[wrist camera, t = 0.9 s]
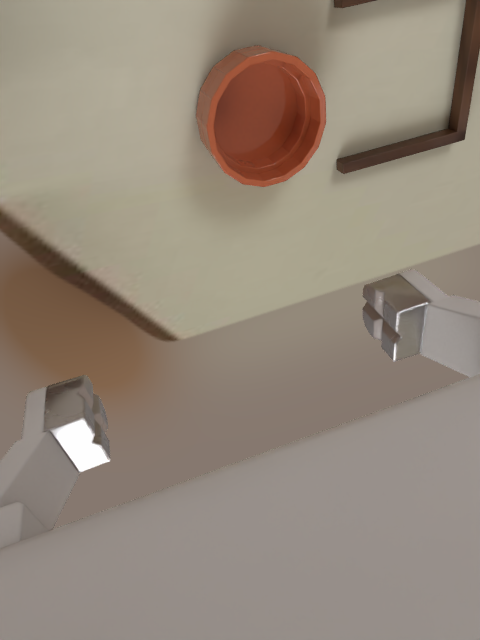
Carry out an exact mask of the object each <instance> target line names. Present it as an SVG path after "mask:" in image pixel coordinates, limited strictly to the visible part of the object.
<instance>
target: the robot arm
mask: <svg viewBox="0 0 480 640" xmlns="http://www.w3.org/2000/svg"><path fill="white" fill-rule="evenodd" d="M363 297H364V298H365V299H366V300H367V303H366V304H365V306H364V307H363V320H364V323H365V326H366V328H367V330H368V332H369V333H370V335H371V336H372V337H373V338H375V339H378V340H381V341H382V345H381V347H382V349H383V350H384V351H385V352H386V353H387V354H388V355H389V357H390V358H391V359H392V360H393V361H394V362H395V361H397V360H401V359H403V358H407V357H410V356H413V355H416V354H419V353H421V355H423V356H425V357H428V358H430V359H432V360H434V361H436V362H438V363H441V364H443V365H445V366H447V367H449V368H451V369H453V370H456V371H458V372H460V373H462V374H465V375H467V376H469V377H470V378H467V379H464V380H462V381H459V382H456V383H453V384H451V385H448V386H445V387H443V388H440V389H437V390H434V391H431V392H429V393H426V394H423V395H420V396H418V397H415V398H412V399H409V400H407V401H404V402H401V403H399V404H396V405H393V406H391V407H388V408H385V409H382V410H379V411H376V412H374V413H371V414H368V415H366V416H363V417H360V418H357V419H354V420H351V421H349V422H346V423H343V424H341V425H338V426H335V427H332V428H329V429H327V430H324V431H321V432H318V433H316V434H313V435H310V436H307V437H305V438H302V439H299V440H296V441H294V442H291V443H288V444H285V445H283V446H280V447H277V448H274V449H272V450H269V451H266V452H264V453H261V454H258V455H255V456H253V457H250V458H247V459H244V460H242V461H239V462H236V463H234V464H231V465H228V466H225V467H223V468H220V469H217V470H214V471H211V472H209V473H206V474H203V475H200V476H198V477H195V478H192V479H189V480H187V481H184V482H181V483H179V484H176V485H173V486H170V487H167V488H165V489H162V490H159V491H156V492H154V493H151V494H148V495H145V496H143V497H140V498H137V499H134V500H132V501H129V502H126V503H124V504H121V505H118V506H115V507H112V508H110V509H107V510H104V511H101V512H99V513H96V514H93V515H90V516H88V517H85V518H82V519H79V520H77V521H74V522H71V523H68V524H66V525H63V526H60V527H57V528H55V529H53V528H54V526H55V523H56V522H57V520H58V517H59V515H60V513H61V511H62V509H63V507H64V505H65V503H66V501H67V499H68V497H69V495H70V493H71V491H72V489H73V487H74V485H75V483H76V481H77V479H78V477H79V472H82V471H85V470H87V469H90V468H93V467H95V466H98V465H101V464H103V463H106V462H109V461H110V447H109V440H108V438H107V437H106V434H105V432H106V430H107V429H108V422H107V417H106V412H105V409H104V407H103V404H102V401H101V399H100V398H99V396H98V395H96V394H94V393H93V386H92V383H91V381H90V379H89V378H88V376H86V375H83V376H79V377H77V378H73V379H70V380H66V381H63V382H59V383H56V384H53V385H49V386H48V387H44V388H40V389H37V390H34V391H30V392H29V393H28V394H27V396H26V403H25V411H24V420H23V428H22V436H21V440H19V441H16V442H15V443H14V444H13V445H12V447H11V448H10V449H9V451H8V452H7V453H6V455H5V456H4V457H3V458H2V459H1V461H0V640H480V301H476V300H472V299H467V298H464V297H459V296H455V295H452V296H448V295H446V294H445V293H444V292H443V291H441V290H440V289H439V288H438V287H437V286H435V285H434V284H433V283H431V282H430V281H429V280H428V279H427V278H425V277H424V276H423V275H422V274H420V273H419V272H418V271H417V270H414V269H410V270H407V271H404V272H401V273H398V274H396V275H393V276H391V277H387V278H384V279H382V280H378V281H375V282H373V283H370V284H366V285H365V286H364V288H363Z"/></svg>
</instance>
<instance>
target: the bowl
mask: <svg viewBox="0 0 480 640" xmlns="http://www.w3.org/2000/svg"><path fill="white" fill-rule="evenodd" d="M196 119H197V123H198V128H199V133H200V138H201V141H202V142H203V144H204V145H205V147H206V148H207V150H208V151H209V153H210V154H211V156H212V157H213V159H214V160H215V161H216V162H217V164H218V165H219V166H220V167H221V169H222V170H223V171H224V172H225V173H226V174H228V175H229V176H231V177H232V178H234V179H236V180H237V181H239V182H240V183H242V184H245V185H253V186H260V187H266V186H269V185H273V184H277V183H280V182H284V181H286V180H288V179H289V178H290V177H292V176H293V175H295V174H296V173H297V172H299V171H300V170H301V169H303V168H304V167H305V166H306V164H307V163H308V161H309V160H310V158H311V157H312V156H313V154H314V153H315V151H316V150H317V149H318V147H319V144H320V141H321V137H322V134H323V131H324V128H325V124H326V102H325V95H324V92H323V90H322V88H321V85H320V83H319V81H318V78H317V76H316V74H315V73H314V72H313V71H312V70H311V69H310V68H309V67H308V66H307V65H306V64H305V63H303V62H302V61H301V60H300V59H299V58H298V57H296V56H293V55H290V54H287V53H284V52H281V51H278V50H274V49H270V48H266V47H262V46H258V45H255V46H251V47H247V48H243V49H238V50H234V51H232V52H231V53H230V54H229V55H227V56H226V57H225V58H224V59H222V60H221V61H220V62H218V63H217V64H216V65H215V66H214V67H213V68H212V70H211V71H210V73H209V75H208V77H207V78H206V80H205V82H204V84H203V86H202V87H201V89H200V93H199V99H198V106H197V112H196Z"/></svg>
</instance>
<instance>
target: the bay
mask: <svg viewBox="0 0 480 640" xmlns="http://www.w3.org/2000/svg"><path fill="white" fill-rule="evenodd" d="M371 1H376V0H334V7H337V8H345V7H349V6H354V5H358V4H363V3H367V2H371ZM479 49H480V0H466V7H465V14H464V21H463V28H462V35H461V42H460V49H459V56H458V63H457V71H456V78H455V85H454V92H453V99H452V106H451V113H450V120H449V128H448V129H445V130H441V131H438V132H434V133H430V134H427V135H423V136H420V137H416V138H412V139H409V140H405V141H402V142H398V143H394V144H391V145H387V146H384V147H380V148H376V149H373V150H369V151H366V152H362V153H358V154H355V155H351V156H348V157H344V158H340V159H337V170H338V171H340V172H341V173H343V174H345V173H349V172H352V171H356V170H360V169H363V168H367V167H370V166H374V165H377V164H381V163H384V162H388V161H391V160H395V159H398V158H402V157H406V156H409V155H413V154H416V153H420V152H423V151H427V150H430V149H434V148H437V147H441V146H444V145H448V144H451V143H455V142H459V141H462V140H464V139H465V134H466V127H467V121H468V115H469V109H470V103H471V97H472V91H473V85H474V79H475V73H476V67H477V61H478V55H479Z"/></svg>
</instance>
